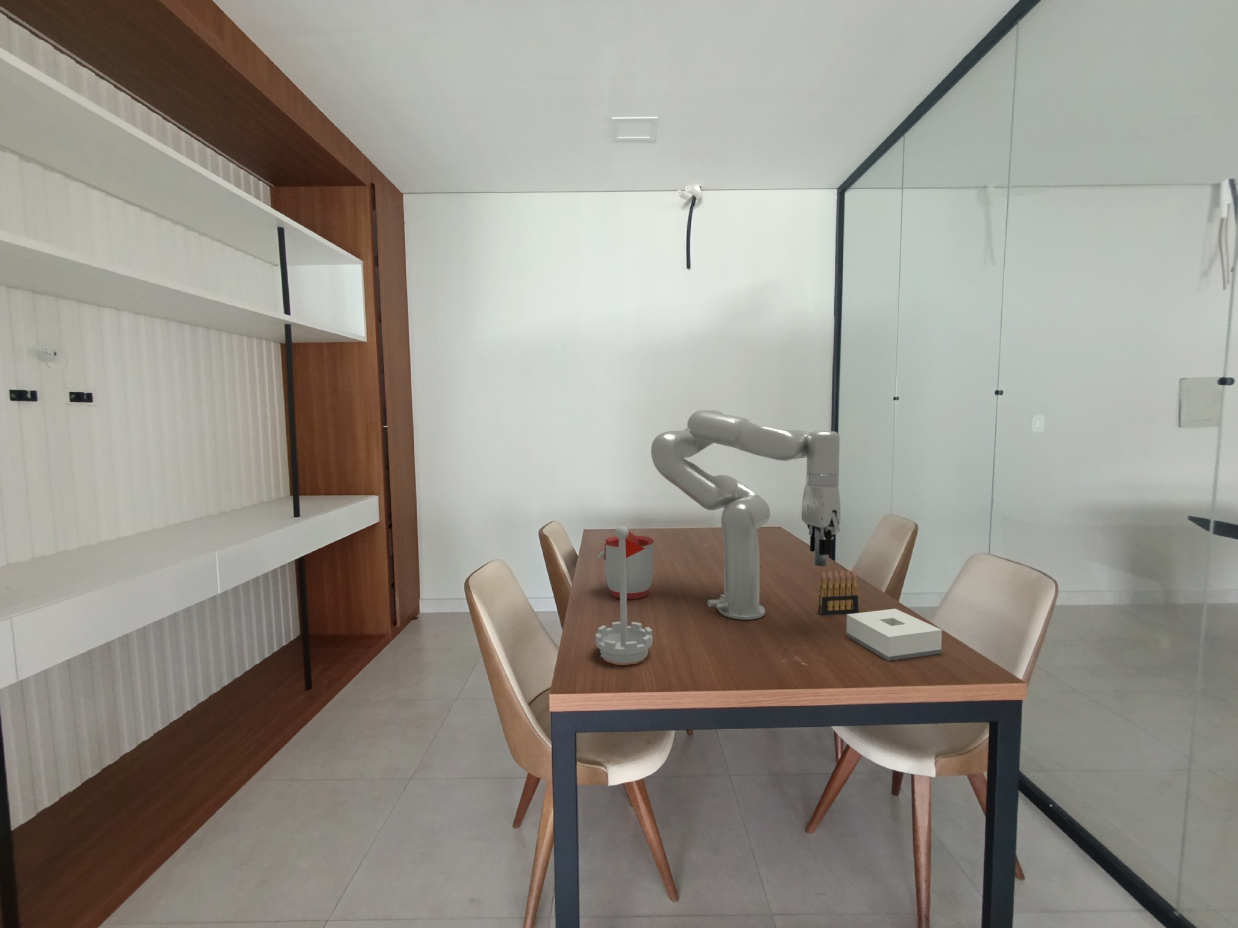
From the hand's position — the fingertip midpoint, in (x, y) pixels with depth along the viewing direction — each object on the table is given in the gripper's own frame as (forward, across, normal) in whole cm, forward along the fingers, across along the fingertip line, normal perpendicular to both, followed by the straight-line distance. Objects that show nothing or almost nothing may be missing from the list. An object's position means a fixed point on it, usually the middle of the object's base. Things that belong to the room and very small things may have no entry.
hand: (820, 552), depth 132 cm
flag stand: (+20, +1, -52) cm, 56 cm away
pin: (+3, 0, 0) cm, 3 cm away
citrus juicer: (+21, -40, -41) cm, 60 cm away
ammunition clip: (+20, -8, +11) cm, 24 cm away
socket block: (+20, +13, +10) cm, 26 cm away
